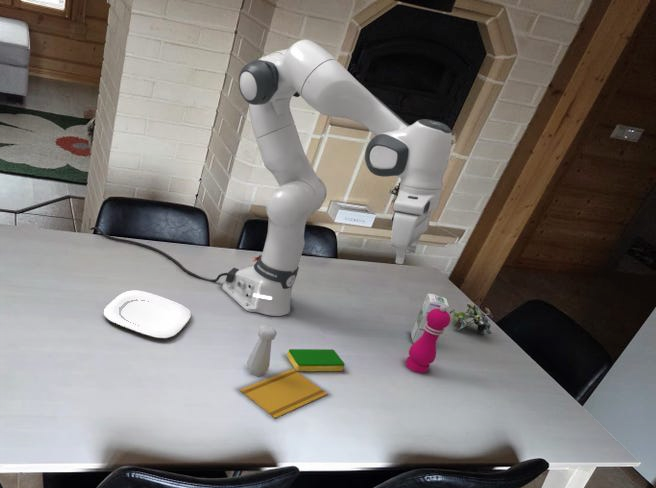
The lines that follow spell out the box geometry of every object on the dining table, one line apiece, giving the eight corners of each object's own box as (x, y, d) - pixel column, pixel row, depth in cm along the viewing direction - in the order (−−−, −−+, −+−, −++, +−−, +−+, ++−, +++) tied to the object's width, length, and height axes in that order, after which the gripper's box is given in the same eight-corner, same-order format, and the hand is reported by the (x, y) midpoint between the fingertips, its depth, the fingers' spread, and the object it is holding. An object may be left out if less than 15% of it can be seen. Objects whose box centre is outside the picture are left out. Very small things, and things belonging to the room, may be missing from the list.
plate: (94, 320, 172) (94, 315, 171) (129, 290, 190) (129, 285, 189) (168, 348, 168) (169, 342, 167) (196, 314, 185) (198, 309, 184)
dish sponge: (286, 356, 175) (288, 348, 173) (331, 356, 179) (333, 349, 177) (296, 371, 169) (299, 364, 168) (342, 371, 173) (345, 364, 172)
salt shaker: (243, 363, 168) (255, 320, 161) (264, 365, 169) (277, 323, 162) (247, 376, 163) (259, 333, 156) (268, 378, 164) (282, 336, 157)
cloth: (239, 390, 157) (239, 389, 157) (292, 369, 170) (292, 368, 169) (275, 418, 151) (275, 417, 150) (327, 394, 163) (327, 393, 163)
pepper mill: (428, 364, 185) (457, 304, 174) (428, 377, 179) (458, 315, 168) (403, 356, 186) (431, 296, 175) (403, 368, 180) (431, 307, 169)
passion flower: (470, 346, 211) (502, 333, 201) (446, 341, 206) (478, 327, 196) (463, 315, 215) (494, 300, 205) (440, 309, 210) (470, 294, 200)
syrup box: (430, 347, 194) (450, 305, 186) (411, 342, 194) (430, 300, 186) (428, 338, 198) (447, 297, 190) (409, 333, 199) (427, 292, 191)
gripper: (415, 188, 153) (403, 245, 159) (391, 203, 138) (379, 265, 144) (443, 193, 150) (429, 250, 157) (421, 209, 135) (407, 272, 141)
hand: (405, 258), depth 150 cm, fingers open, 8 cm apart
